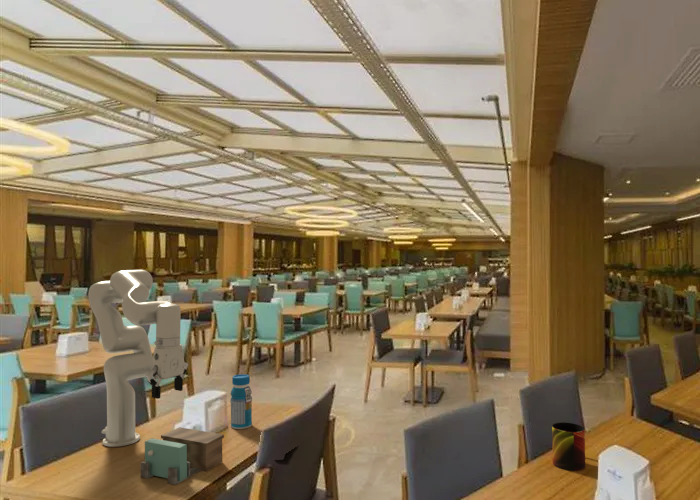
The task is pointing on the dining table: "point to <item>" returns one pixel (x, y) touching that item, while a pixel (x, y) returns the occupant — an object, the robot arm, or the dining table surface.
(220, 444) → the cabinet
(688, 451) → the dining table surface
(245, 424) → the beverage bottle
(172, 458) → the green rectangular block
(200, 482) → the dining table surface
